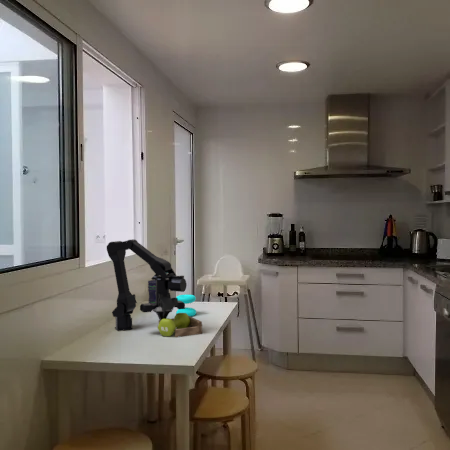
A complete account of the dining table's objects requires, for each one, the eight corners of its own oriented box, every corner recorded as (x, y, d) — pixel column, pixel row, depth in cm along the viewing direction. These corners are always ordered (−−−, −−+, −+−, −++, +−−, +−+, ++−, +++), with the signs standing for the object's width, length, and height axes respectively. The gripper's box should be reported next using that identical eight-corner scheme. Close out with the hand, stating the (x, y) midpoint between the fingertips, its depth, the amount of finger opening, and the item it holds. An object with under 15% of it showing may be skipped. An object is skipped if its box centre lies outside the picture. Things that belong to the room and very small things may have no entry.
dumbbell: (172, 337, 205) (172, 320, 205) (156, 336, 208) (155, 319, 208) (192, 329, 220) (191, 312, 220) (176, 327, 223) (176, 311, 223)
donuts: (174, 294, 253) (193, 293, 256) (174, 314, 253) (193, 312, 256) (177, 297, 243) (197, 296, 246) (178, 318, 243) (198, 316, 246)
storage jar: (165, 309, 266) (164, 281, 266) (147, 310, 266) (146, 282, 266) (167, 306, 276) (167, 279, 276) (150, 306, 276) (149, 279, 276)
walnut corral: (176, 337, 206) (175, 325, 206) (158, 326, 226) (158, 315, 226) (202, 333, 211) (201, 321, 211) (182, 323, 231) (182, 312, 231)
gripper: (147, 294, 204) (147, 332, 204) (189, 291, 212) (189, 327, 212) (139, 290, 214) (139, 326, 214) (180, 287, 222) (180, 322, 222)
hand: (162, 326), depth 216 cm, fingers closed
